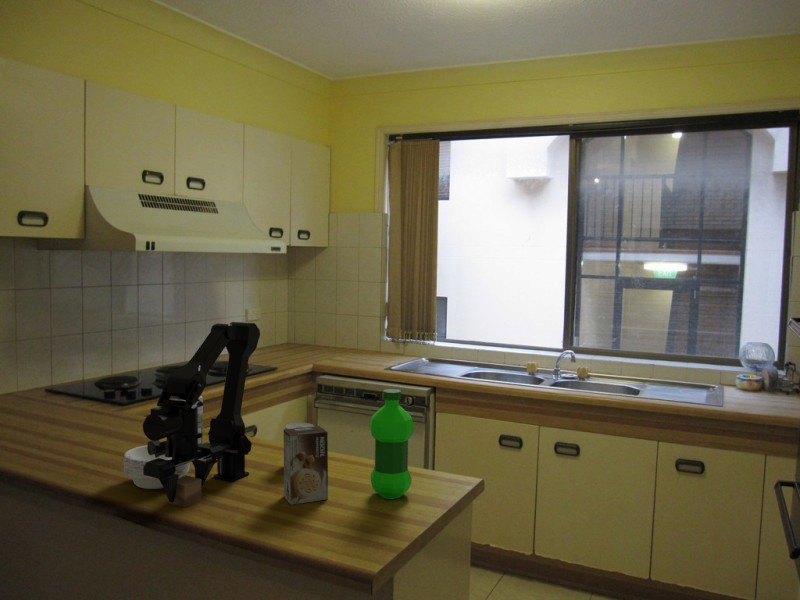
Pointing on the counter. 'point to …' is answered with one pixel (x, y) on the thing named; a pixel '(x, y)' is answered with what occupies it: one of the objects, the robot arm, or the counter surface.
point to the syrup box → (199, 420)
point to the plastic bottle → (391, 447)
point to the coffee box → (305, 464)
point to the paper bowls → (134, 468)
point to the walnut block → (187, 491)
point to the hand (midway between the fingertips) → (185, 496)
